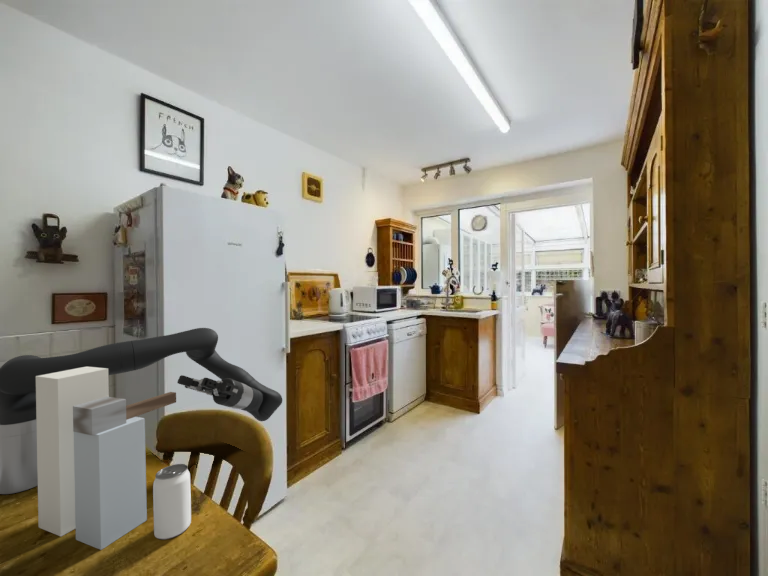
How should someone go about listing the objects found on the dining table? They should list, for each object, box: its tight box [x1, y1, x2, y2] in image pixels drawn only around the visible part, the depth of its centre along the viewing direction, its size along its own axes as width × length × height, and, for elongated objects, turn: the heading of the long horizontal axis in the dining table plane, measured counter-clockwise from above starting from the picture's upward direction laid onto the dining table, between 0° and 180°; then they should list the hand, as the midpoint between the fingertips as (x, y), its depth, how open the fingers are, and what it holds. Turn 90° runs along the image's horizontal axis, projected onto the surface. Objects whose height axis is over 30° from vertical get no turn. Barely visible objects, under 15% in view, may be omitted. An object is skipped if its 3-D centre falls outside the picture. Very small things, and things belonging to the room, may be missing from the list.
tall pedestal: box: [36, 367, 110, 537], centre depth 72 cm, size 8×9×32 cm
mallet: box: [73, 391, 177, 435], centre depth 72 cm, size 6×18×5 cm, turn 160°
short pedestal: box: [74, 416, 148, 551], centre depth 68 cm, size 8×8×22 cm
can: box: [152, 463, 192, 540], centre depth 68 cm, size 6×6×12 cm
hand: (191, 380), depth 85 cm, fingers open, 8 cm apart
